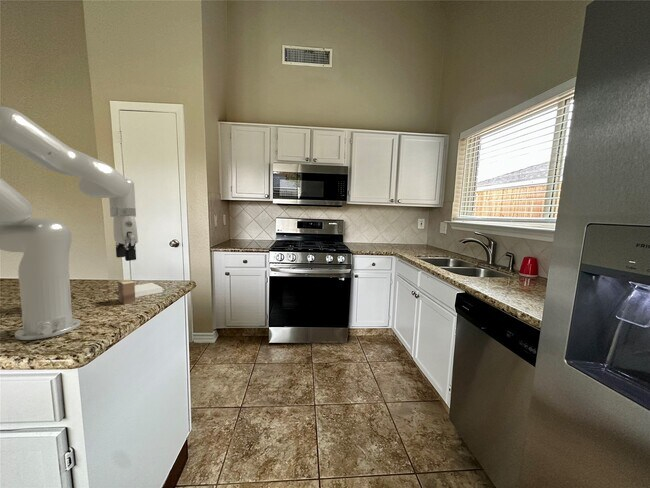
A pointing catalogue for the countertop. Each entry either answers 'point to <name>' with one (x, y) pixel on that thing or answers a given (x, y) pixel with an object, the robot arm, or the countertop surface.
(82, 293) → the countertop surface
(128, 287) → the two-tone wooden block
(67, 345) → the countertop surface
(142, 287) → the cutting board
